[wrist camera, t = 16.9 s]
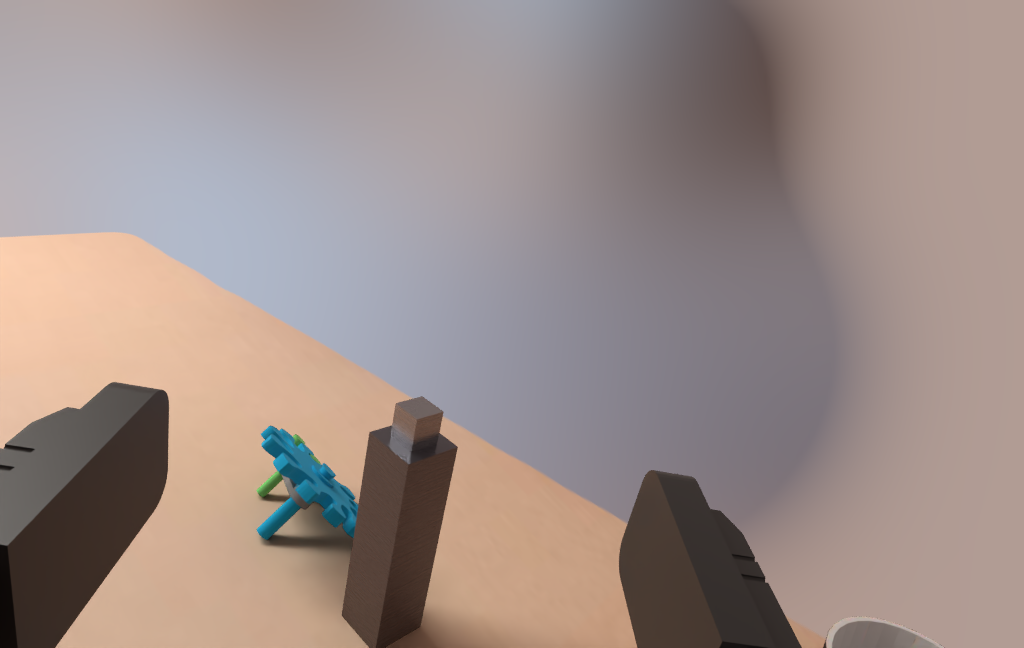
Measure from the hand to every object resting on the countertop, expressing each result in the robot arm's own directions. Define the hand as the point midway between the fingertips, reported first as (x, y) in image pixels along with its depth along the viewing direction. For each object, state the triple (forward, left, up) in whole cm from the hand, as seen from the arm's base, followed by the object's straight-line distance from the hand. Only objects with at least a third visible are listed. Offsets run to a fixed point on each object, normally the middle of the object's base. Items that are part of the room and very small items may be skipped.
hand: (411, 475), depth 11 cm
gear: (+9, +29, -26) cm, 40 cm away
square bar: (+10, +19, -26) cm, 34 cm away
